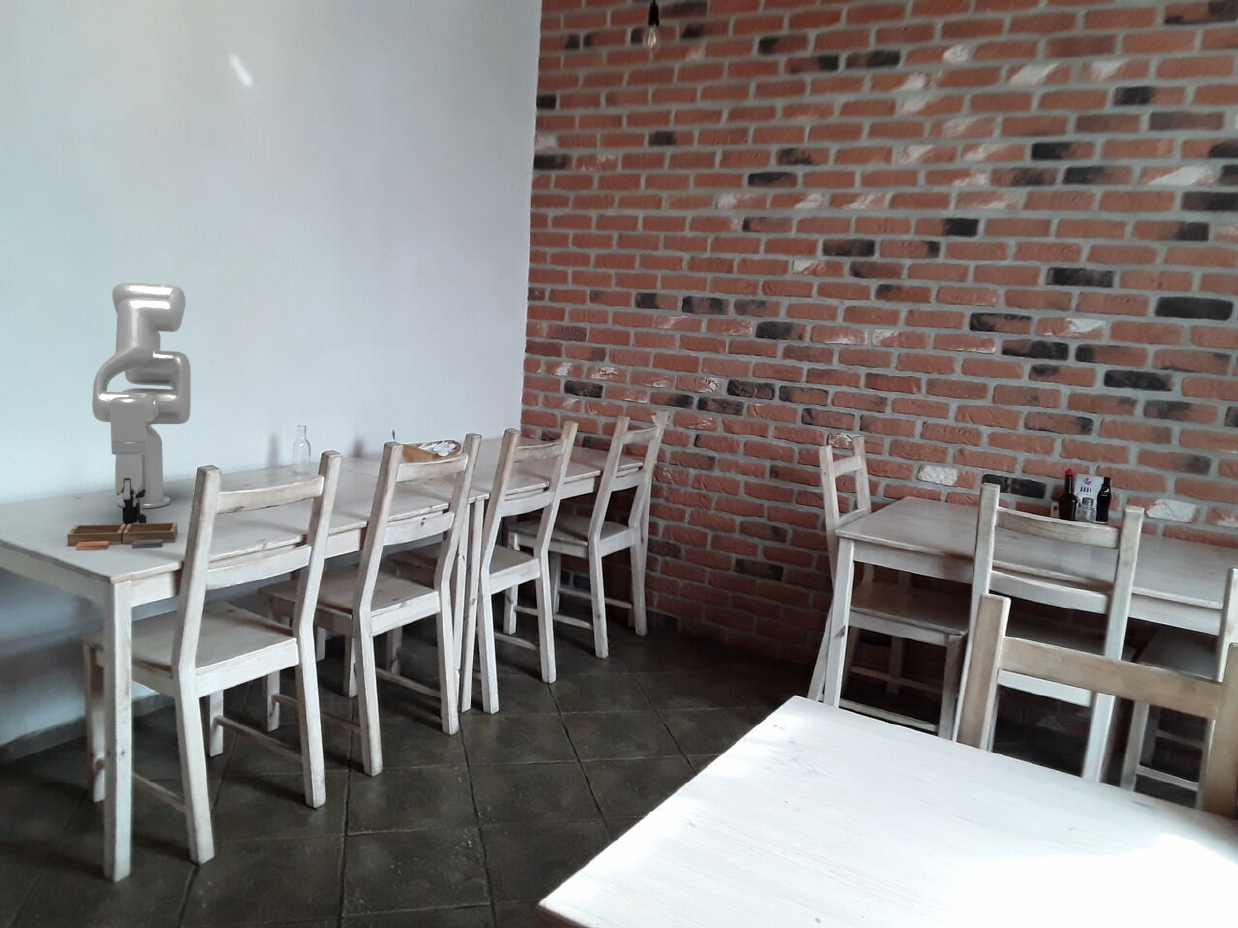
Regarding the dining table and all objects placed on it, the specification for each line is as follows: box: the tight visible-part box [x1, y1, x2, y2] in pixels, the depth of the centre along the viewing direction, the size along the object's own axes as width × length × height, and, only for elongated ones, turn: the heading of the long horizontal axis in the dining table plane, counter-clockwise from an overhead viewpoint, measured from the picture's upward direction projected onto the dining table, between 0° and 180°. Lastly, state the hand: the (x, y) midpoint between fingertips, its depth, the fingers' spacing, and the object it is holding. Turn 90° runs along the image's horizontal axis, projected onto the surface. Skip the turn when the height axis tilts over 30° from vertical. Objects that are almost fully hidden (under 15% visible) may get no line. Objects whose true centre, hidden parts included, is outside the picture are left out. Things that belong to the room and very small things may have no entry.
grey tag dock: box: [122, 522, 178, 549], centre depth 206 cm, size 12×11×3 cm
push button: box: [116, 486, 147, 526], centre depth 216 cm, size 7×5×10 cm
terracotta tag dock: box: [66, 523, 126, 551], centre depth 202 cm, size 12×11×3 cm
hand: (131, 519), depth 217 cm, fingers closed on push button, 3 cm apart
